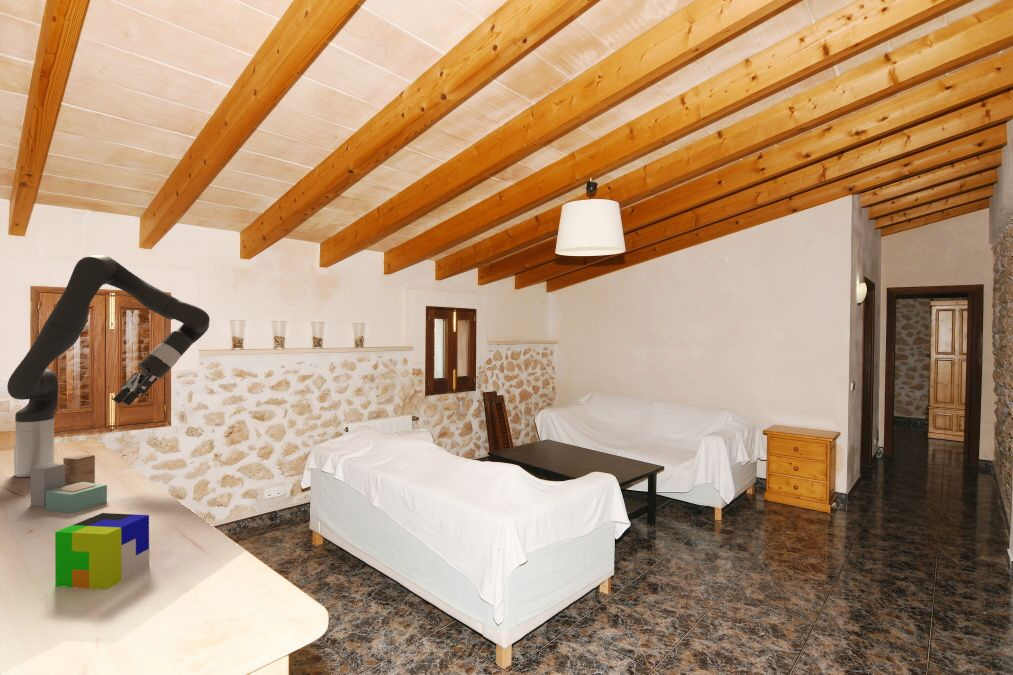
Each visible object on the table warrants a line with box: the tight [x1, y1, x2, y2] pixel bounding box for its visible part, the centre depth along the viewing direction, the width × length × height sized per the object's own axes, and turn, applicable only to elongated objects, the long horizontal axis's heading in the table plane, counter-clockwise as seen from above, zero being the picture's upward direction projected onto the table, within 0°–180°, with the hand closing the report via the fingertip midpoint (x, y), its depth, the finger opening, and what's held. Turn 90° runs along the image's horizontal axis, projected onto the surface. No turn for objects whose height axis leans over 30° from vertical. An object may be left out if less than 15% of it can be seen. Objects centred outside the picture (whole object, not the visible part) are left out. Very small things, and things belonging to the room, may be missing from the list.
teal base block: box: [45, 482, 108, 514], centre depth 140 cm, size 9×9×5 cm
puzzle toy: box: [54, 512, 150, 590], centre depth 101 cm, size 10×10×10 cm
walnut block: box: [62, 453, 96, 486], centre depth 152 cm, size 5×5×10 cm
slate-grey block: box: [30, 462, 65, 508], centre depth 141 cm, size 5×5×10 cm
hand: (120, 402), depth 159 cm, fingers open, 8 cm apart
